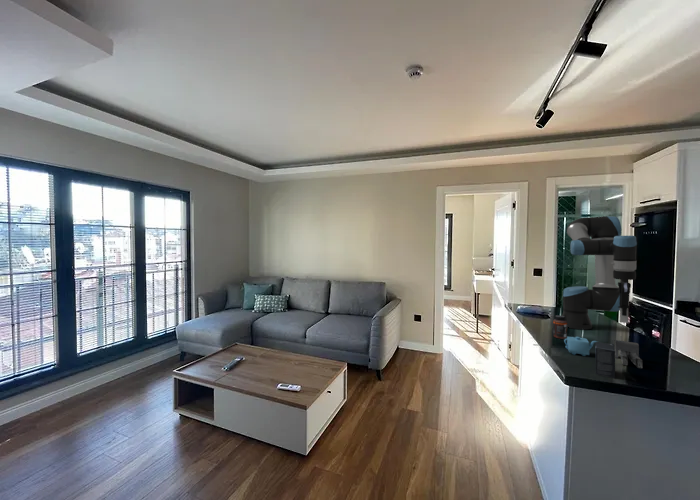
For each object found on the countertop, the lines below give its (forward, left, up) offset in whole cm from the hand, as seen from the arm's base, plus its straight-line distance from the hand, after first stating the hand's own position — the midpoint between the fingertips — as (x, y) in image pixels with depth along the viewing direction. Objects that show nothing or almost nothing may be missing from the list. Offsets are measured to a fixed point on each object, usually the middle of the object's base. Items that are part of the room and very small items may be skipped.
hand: (623, 322), depth 134 cm
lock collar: (+9, 0, -14) cm, 16 cm away
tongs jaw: (+14, +2, -13) cm, 19 cm away
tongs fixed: (+12, 0, -14) cm, 18 cm away
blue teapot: (+13, -15, -14) cm, 25 cm away
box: (+32, -8, -14) cm, 36 cm away
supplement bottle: (-9, -24, -14) cm, 29 cm away
